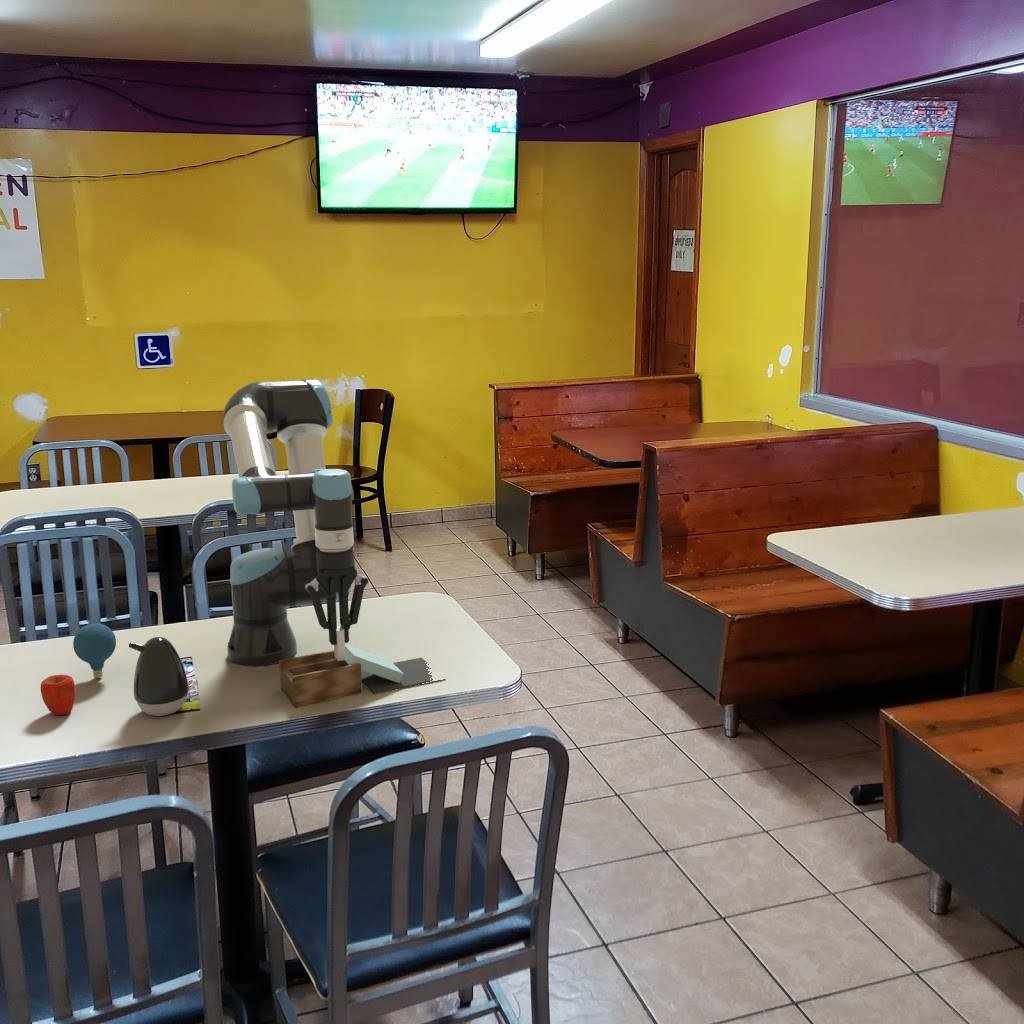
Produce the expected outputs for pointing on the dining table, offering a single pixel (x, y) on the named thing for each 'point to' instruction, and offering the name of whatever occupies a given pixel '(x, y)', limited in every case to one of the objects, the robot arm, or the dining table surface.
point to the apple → (58, 694)
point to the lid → (372, 663)
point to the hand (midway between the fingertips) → (339, 658)
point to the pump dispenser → (159, 678)
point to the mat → (412, 676)
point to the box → (318, 678)
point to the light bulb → (94, 646)
